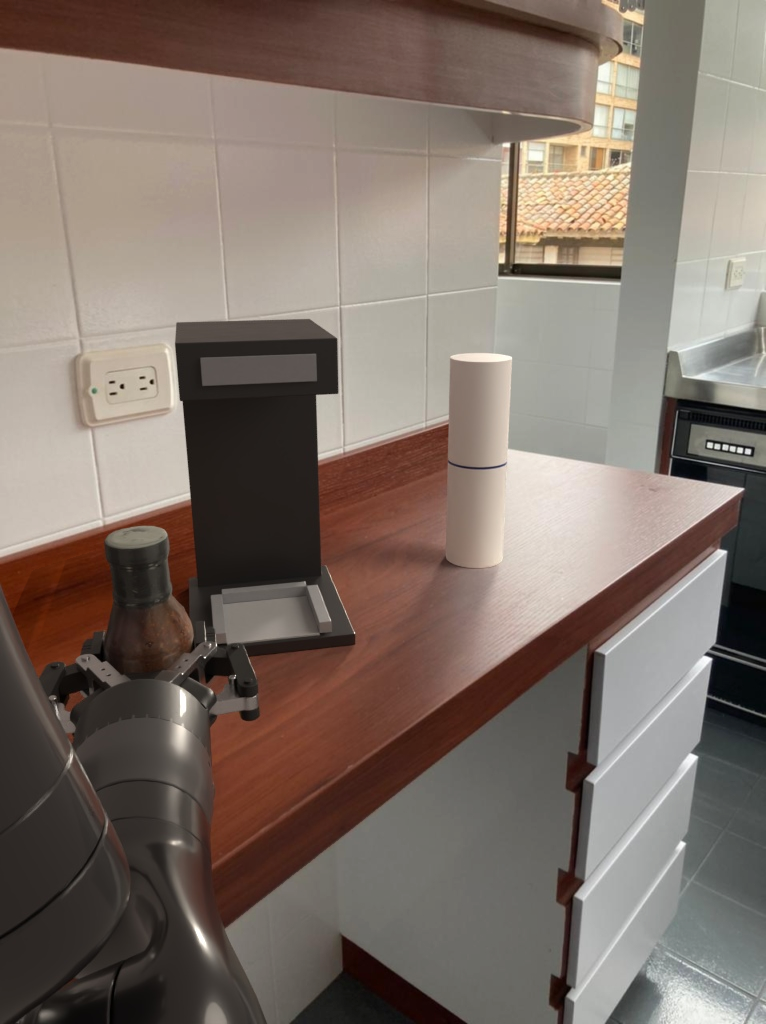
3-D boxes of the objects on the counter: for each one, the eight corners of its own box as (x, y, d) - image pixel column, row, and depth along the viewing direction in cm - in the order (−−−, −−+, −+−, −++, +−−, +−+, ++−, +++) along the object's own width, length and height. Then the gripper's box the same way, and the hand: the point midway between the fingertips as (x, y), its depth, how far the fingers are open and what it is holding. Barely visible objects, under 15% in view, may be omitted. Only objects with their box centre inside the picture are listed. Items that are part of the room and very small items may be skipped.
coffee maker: (191, 663, 78) (162, 345, 68) (189, 587, 94) (166, 322, 85) (355, 644, 81) (350, 339, 71) (326, 574, 98) (319, 318, 88)
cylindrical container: (440, 564, 100) (444, 360, 92) (451, 544, 107) (456, 352, 99) (498, 570, 99) (507, 363, 90) (506, 549, 105) (515, 354, 97)
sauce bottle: (162, 752, 64) (140, 511, 58) (226, 775, 61) (210, 525, 55) (99, 800, 58) (67, 539, 52) (166, 828, 56) (141, 556, 49)
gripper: (273, 703, 43) (249, 580, 59) (-19, 739, 40) (37, 599, 56) (279, 820, 46) (255, 672, 61) (4, 862, 43) (51, 695, 58)
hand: (151, 638), depth 58 cm, fingers closed on sauce bottle, 6 cm apart
